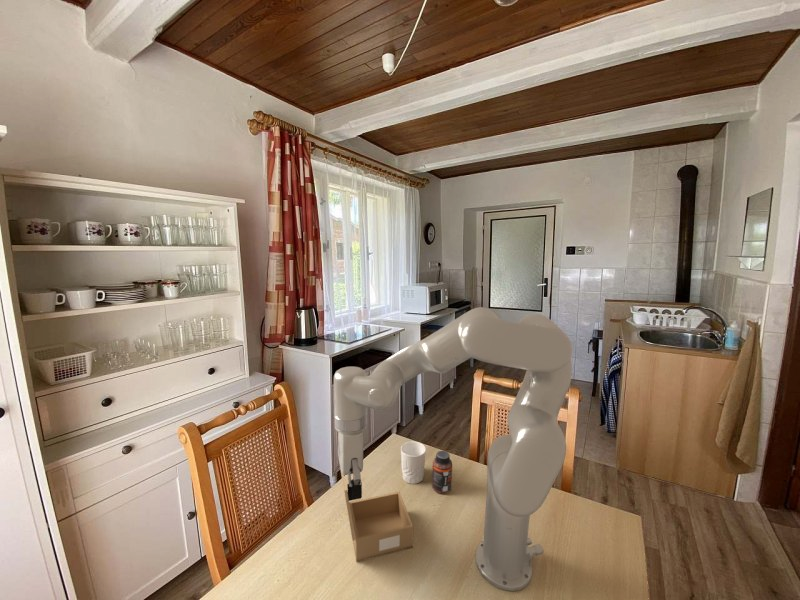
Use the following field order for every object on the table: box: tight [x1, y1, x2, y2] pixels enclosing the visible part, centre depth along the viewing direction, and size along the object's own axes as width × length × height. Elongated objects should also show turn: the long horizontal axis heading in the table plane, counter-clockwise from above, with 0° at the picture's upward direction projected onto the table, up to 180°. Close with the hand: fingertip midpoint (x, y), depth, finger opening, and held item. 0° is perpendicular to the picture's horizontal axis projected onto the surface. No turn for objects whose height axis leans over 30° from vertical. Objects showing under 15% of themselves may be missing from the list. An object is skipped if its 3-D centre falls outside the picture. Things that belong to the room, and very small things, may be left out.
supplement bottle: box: [431, 450, 453, 495], centre depth 103 cm, size 6×6×11 cm
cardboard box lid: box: [338, 462, 355, 542], centre depth 83 cm, size 14×12×1 cm
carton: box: [349, 491, 414, 563], centre depth 87 cm, size 14×12×6 cm
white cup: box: [400, 440, 427, 485], centre depth 108 cm, size 8×8×10 cm
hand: (351, 484), depth 83 cm, fingers open, 9 cm apart
